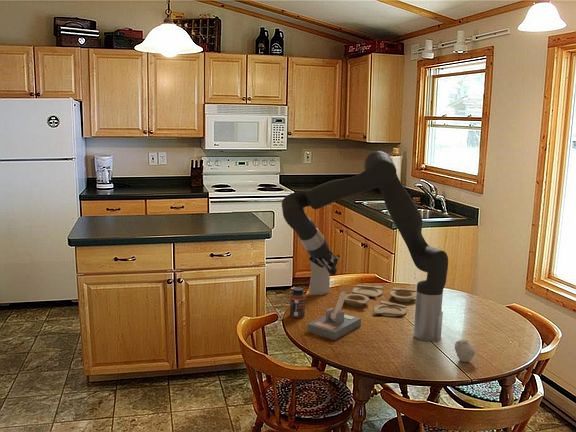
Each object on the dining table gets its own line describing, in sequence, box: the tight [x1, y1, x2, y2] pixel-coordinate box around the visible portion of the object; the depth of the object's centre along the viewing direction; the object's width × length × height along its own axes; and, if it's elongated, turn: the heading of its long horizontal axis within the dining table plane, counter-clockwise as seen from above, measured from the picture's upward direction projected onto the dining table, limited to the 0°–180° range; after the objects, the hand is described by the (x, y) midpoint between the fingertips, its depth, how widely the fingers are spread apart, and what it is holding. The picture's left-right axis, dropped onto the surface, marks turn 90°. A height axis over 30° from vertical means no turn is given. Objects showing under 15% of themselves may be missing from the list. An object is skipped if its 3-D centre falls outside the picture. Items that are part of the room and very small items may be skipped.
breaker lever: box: [330, 283, 353, 321], centre depth 209 cm, size 4×2×14 cm
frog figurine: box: [454, 339, 476, 363], centre depth 183 cm, size 6×7×7 cm
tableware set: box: [337, 284, 417, 317], centre depth 240 cm, size 35×29×4 cm
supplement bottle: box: [289, 286, 306, 319], centre depth 220 cm, size 6×6×11 cm
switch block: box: [306, 307, 362, 341], centre depth 208 cm, size 12×18×7 cm, turn 142°
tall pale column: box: [309, 260, 331, 296], centre depth 246 cm, size 11×4×22 cm, turn 112°
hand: (334, 273), depth 204 cm, fingers closed
